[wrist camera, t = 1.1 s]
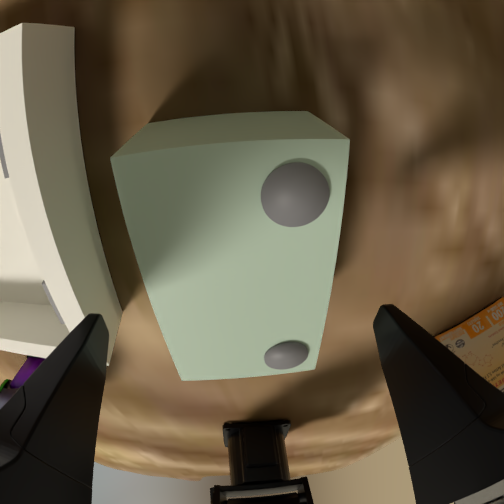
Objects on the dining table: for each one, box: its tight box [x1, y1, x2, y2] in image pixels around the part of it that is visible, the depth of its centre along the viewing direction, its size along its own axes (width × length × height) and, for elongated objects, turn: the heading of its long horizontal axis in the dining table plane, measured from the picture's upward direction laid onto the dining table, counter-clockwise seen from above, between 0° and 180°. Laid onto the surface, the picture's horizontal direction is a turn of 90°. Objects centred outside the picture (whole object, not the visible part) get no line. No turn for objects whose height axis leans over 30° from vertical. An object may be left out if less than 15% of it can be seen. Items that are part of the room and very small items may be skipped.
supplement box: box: [435, 297, 504, 393], centre depth 16 cm, size 8×5×13 cm, turn 115°
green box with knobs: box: [110, 111, 350, 381], centre depth 12 cm, size 10×6×5 cm, turn 2°
